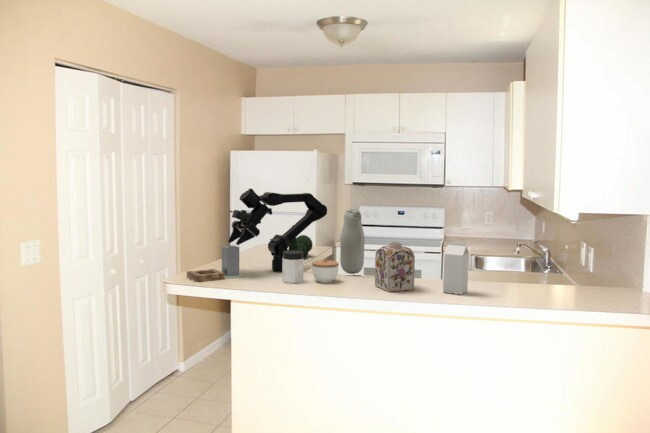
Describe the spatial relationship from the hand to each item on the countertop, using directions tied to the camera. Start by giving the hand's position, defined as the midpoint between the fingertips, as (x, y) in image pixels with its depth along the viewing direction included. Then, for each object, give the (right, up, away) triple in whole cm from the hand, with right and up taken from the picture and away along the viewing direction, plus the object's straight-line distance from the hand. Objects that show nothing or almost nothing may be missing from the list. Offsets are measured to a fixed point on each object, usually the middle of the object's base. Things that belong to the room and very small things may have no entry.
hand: (232, 243), depth 245 cm
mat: (-1, -14, 0) cm, 14 cm away
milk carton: (+88, -18, -24) cm, 93 cm away
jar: (+26, -15, -9) cm, 31 cm away
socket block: (-10, -14, -6) cm, 18 cm away
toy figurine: (+26, -10, +46) cm, 53 cm away
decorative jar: (+65, -17, -19) cm, 70 cm away
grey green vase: (+50, -14, +10) cm, 53 cm away
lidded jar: (+39, -15, -8) cm, 42 cm away
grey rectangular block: (-1, -13, 0) cm, 13 cm away
